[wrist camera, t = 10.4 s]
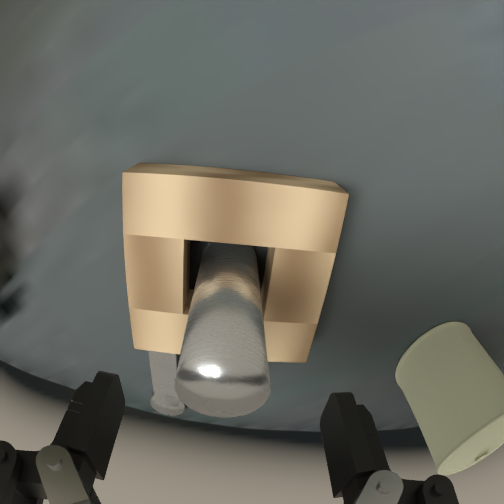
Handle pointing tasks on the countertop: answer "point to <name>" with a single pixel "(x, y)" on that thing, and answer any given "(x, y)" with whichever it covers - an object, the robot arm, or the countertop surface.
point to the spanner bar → (165, 383)
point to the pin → (225, 336)
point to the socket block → (234, 232)
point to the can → (454, 396)
